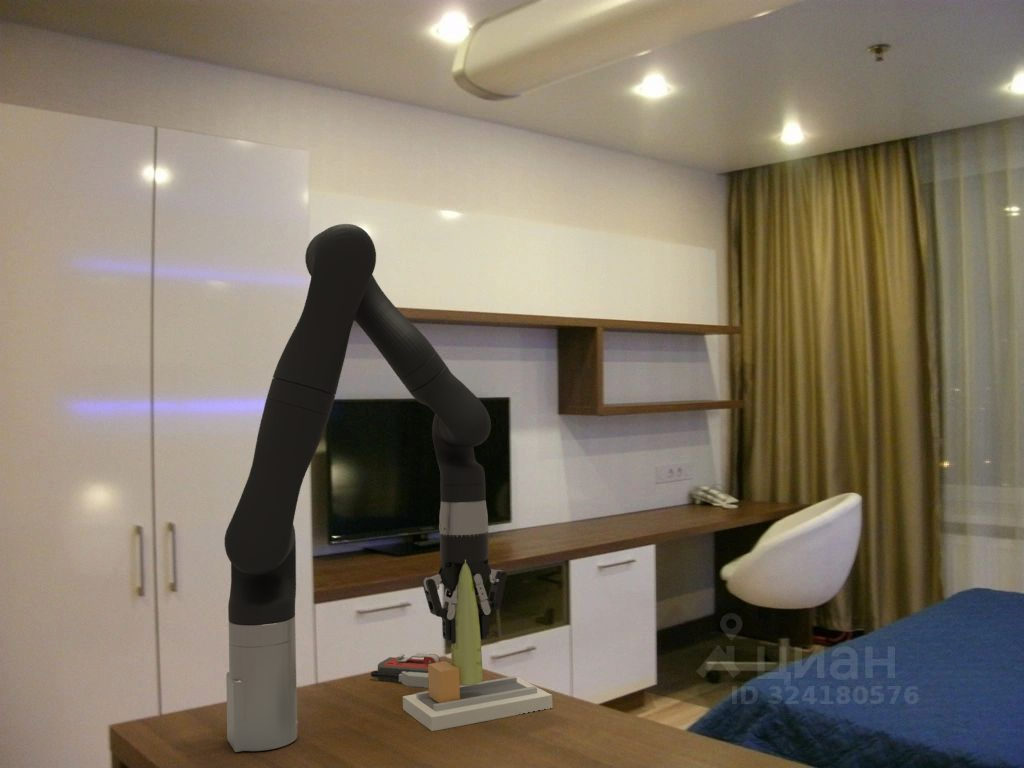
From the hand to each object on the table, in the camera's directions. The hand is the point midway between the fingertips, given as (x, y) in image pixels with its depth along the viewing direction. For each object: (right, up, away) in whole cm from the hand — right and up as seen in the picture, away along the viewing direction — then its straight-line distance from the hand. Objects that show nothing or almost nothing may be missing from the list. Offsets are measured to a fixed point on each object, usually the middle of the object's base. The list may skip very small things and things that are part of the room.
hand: (466, 640), depth 142 cm
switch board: (+2, -11, 0) cm, 11 cm away
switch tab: (-3, -8, -2) cm, 9 cm away
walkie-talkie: (-7, -12, +17) cm, 22 cm away
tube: (0, -7, 0) cm, 7 cm away
